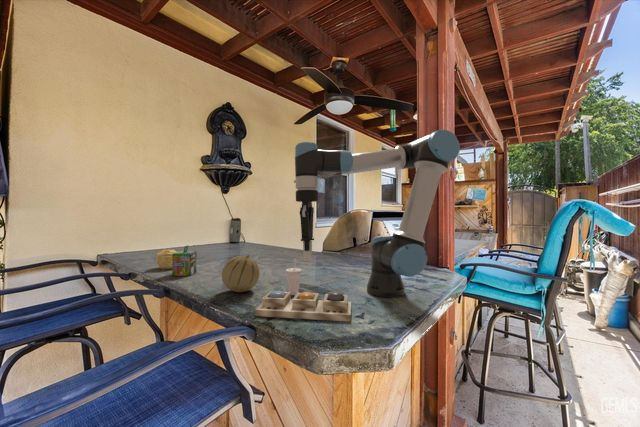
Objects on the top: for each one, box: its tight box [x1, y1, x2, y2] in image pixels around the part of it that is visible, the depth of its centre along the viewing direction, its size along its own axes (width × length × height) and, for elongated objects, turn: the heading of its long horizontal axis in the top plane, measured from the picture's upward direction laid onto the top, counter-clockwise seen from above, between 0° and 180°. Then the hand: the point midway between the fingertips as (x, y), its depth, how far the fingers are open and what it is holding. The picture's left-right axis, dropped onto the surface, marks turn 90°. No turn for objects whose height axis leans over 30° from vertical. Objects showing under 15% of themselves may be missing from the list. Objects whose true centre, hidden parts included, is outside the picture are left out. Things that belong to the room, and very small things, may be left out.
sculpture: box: [155, 249, 178, 270], centre depth 154 cm, size 12×12×11 cm
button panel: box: [254, 291, 352, 322], centre depth 89 cm, size 30×12×4 cm, turn 83°
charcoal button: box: [327, 290, 344, 301], centre depth 89 cm, size 5×5×2 cm
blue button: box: [269, 290, 285, 298], centre depth 92 cm, size 5×5×2 cm
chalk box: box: [171, 245, 198, 277], centre depth 139 cm, size 9×9×15 cm
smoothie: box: [285, 258, 302, 296], centre depth 108 cm, size 6×6×14 cm
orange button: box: [298, 291, 313, 300], centre depth 90 cm, size 5×5×2 cm
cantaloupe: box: [221, 254, 260, 293], centre depth 111 cm, size 15×15×15 cm
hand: (307, 260), depth 91 cm, fingers closed
